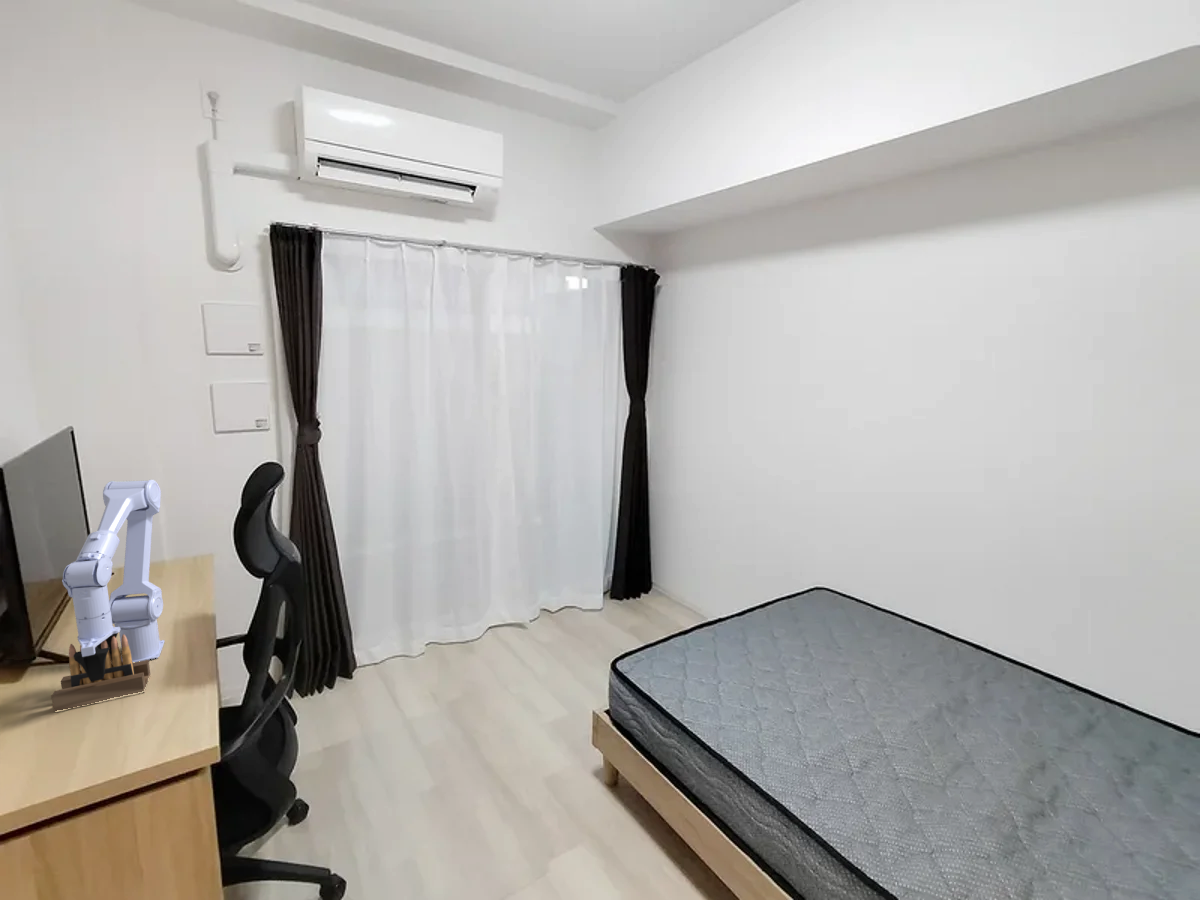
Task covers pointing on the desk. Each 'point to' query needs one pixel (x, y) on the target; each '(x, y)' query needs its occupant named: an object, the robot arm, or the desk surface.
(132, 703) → the desk surface
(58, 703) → the walnut rack
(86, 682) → the ammunition clip
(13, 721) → the desk surface
